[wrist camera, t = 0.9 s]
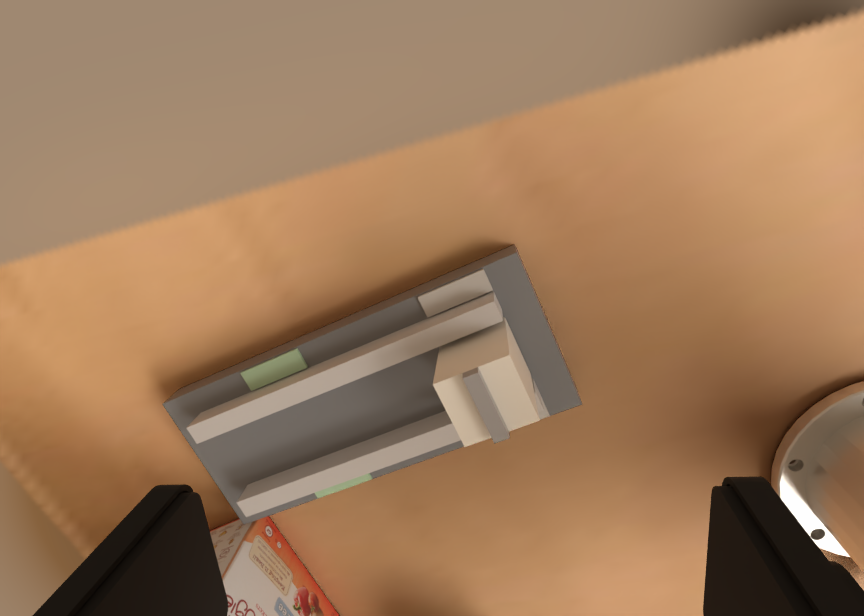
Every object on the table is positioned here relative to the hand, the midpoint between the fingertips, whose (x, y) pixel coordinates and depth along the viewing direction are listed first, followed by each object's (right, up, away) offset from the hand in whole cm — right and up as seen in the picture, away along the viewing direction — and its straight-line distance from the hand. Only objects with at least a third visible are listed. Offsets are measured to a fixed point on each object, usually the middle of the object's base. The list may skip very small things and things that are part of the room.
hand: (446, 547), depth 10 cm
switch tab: (+3, +1, +22) cm, 22 cm away
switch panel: (-4, -1, +25) cm, 26 cm away
